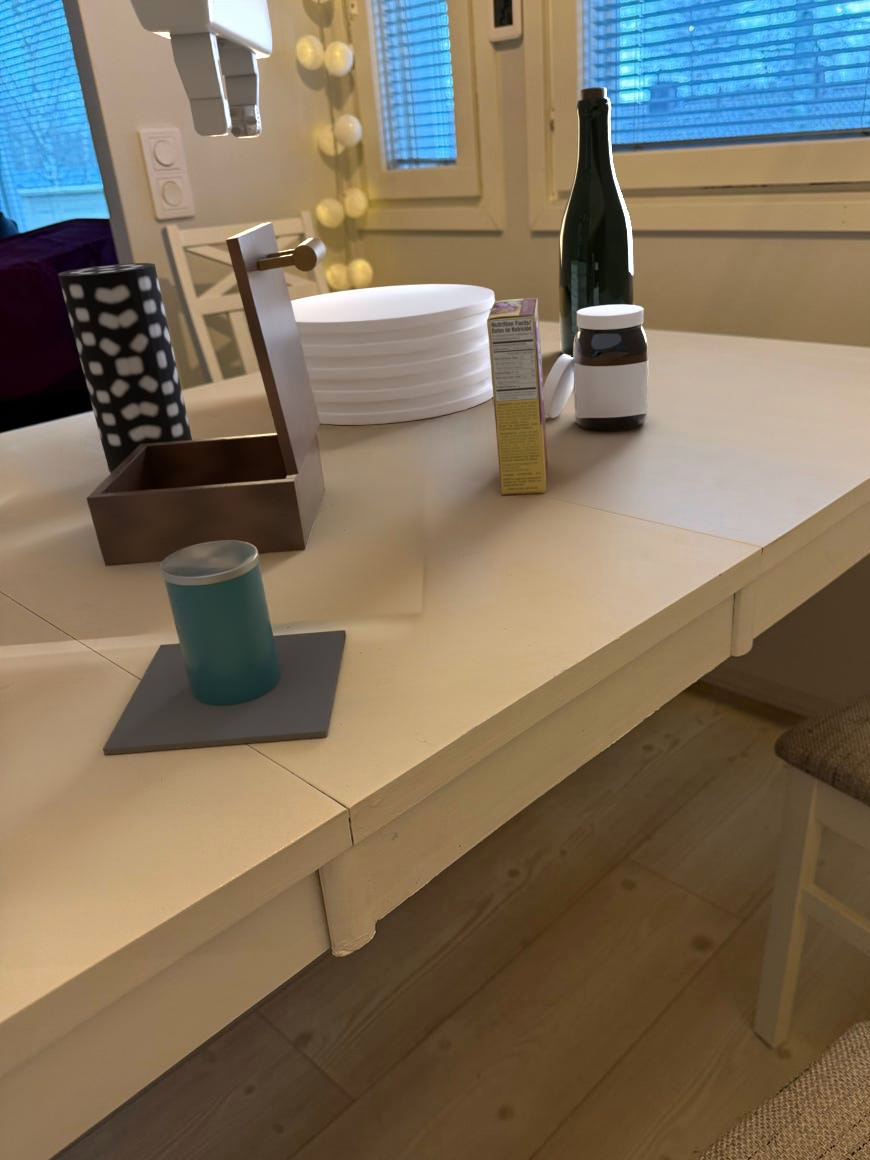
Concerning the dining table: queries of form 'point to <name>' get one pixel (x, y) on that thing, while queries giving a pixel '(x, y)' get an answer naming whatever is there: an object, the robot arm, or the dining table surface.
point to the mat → (284, 713)
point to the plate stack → (396, 351)
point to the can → (222, 621)
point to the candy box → (518, 395)
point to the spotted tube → (126, 356)
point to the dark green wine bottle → (593, 224)
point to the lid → (278, 333)
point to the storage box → (206, 498)
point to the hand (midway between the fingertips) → (232, 136)
